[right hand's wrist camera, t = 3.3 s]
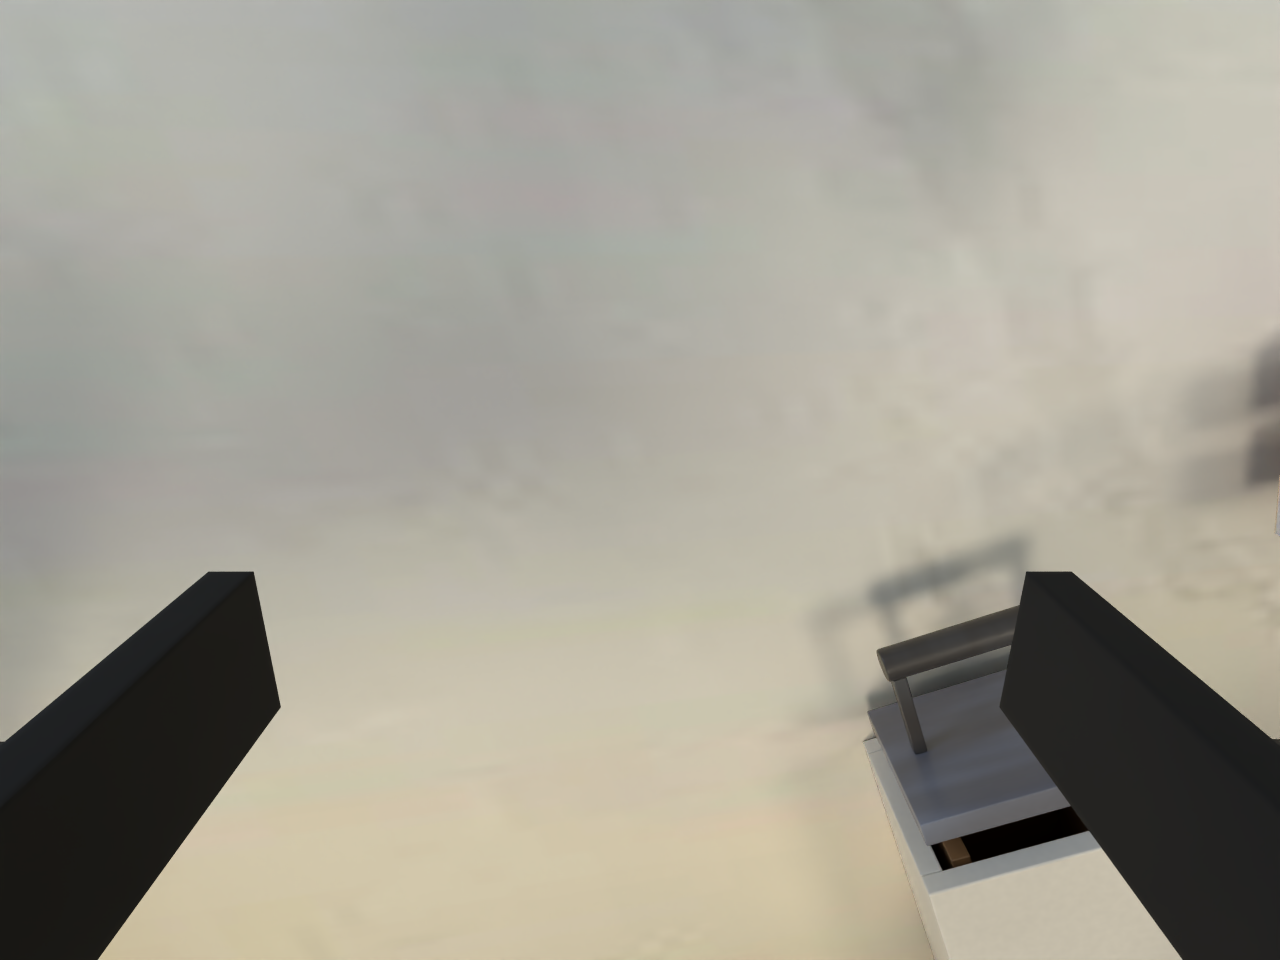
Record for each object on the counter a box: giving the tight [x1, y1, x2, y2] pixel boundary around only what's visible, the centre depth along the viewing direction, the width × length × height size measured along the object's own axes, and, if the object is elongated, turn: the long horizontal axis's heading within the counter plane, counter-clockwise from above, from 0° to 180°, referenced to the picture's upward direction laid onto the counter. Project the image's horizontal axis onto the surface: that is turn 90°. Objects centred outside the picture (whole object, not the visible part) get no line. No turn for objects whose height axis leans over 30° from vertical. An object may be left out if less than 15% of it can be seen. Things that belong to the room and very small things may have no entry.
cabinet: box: [863, 738, 1182, 960], centre depth 36 cm, size 17×10×9 cm, turn 20°
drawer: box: [868, 605, 1089, 871], centre depth 34 cm, size 21×9×7 cm, turn 20°
